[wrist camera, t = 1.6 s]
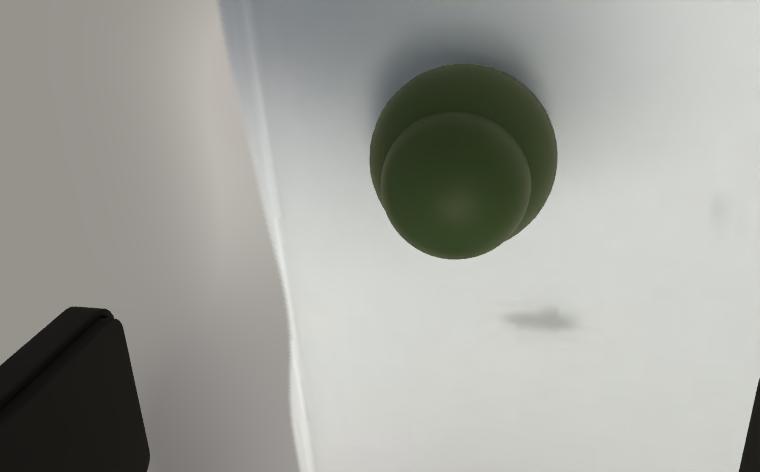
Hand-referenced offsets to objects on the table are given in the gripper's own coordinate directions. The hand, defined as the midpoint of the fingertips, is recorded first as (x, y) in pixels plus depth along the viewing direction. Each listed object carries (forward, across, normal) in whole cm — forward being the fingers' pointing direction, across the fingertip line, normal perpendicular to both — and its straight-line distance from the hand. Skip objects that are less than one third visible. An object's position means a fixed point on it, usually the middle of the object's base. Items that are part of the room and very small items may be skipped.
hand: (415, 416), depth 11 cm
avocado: (+17, +1, +1) cm, 17 cm away
